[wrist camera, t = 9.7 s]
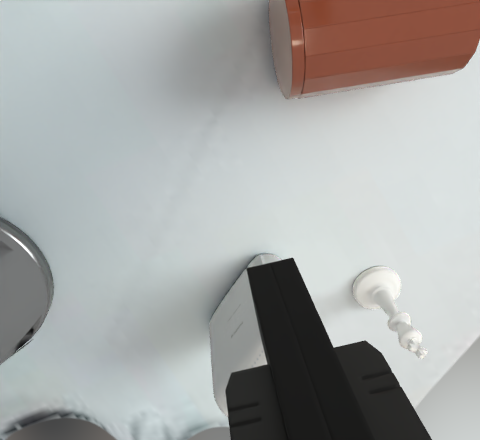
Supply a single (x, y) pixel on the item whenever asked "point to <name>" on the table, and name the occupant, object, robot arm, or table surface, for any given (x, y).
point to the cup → (368, 42)
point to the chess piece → (388, 304)
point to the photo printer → (236, 334)
